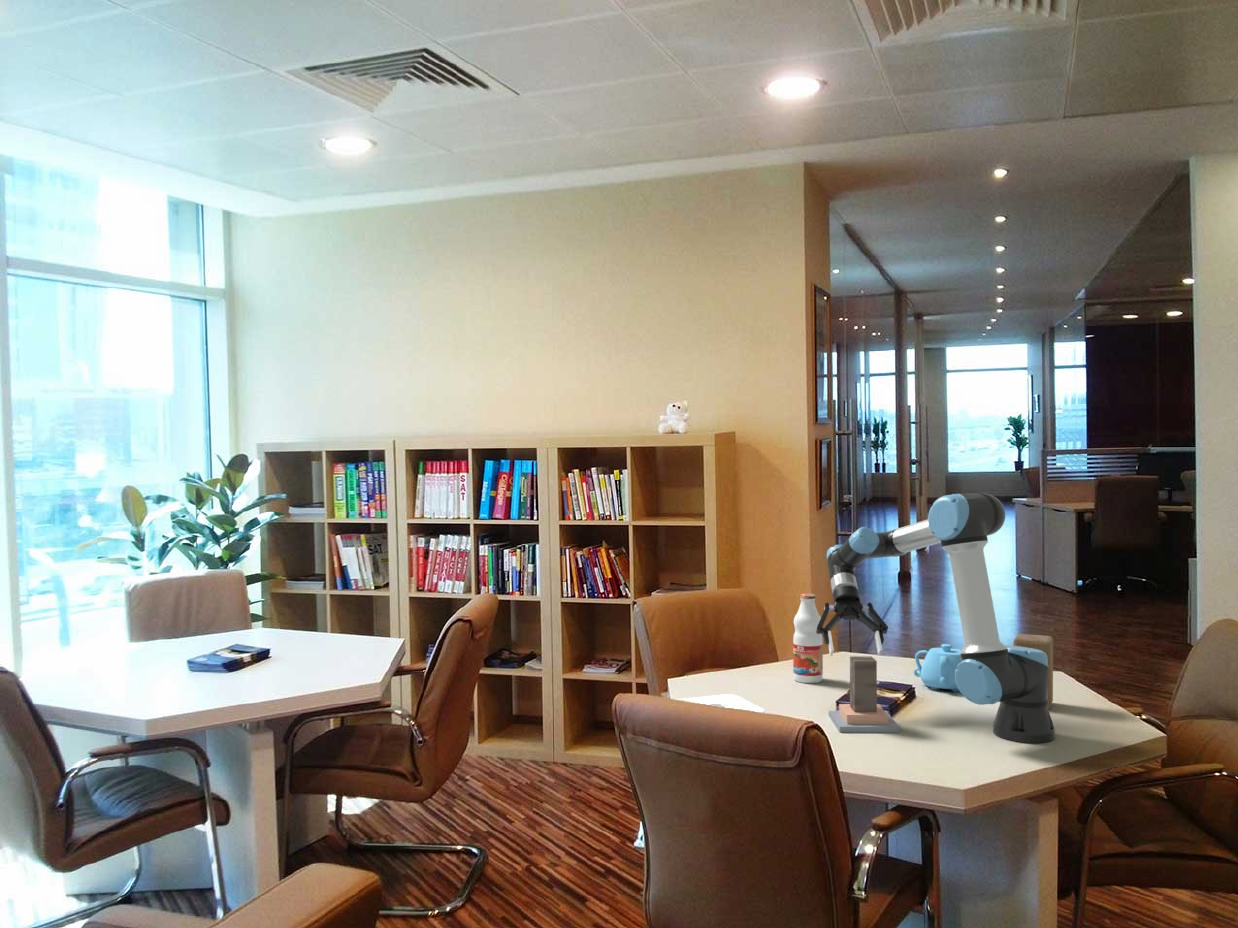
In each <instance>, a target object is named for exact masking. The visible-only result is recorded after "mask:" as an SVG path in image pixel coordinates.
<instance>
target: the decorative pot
mask: <svg viewBox="0 0 1238 928" xmlns="http://www.w3.org/2000/svg"><path fill="white" fill-rule="evenodd" d="M952 647H953V645H952V644H948V643H942V644H941V645H940V647H932V648H930V649H929V650H926V649H922V650H919V651H917V652H916V653H915V655H914V658H915V659H914V660H915V663H916V666H917V667H915V668H914V670H913V675H914V676H915V677H917V678H921V679H920V680H921V681H922V683H923V684H924V685H925V686H927V687H930V690H934V691H937V690H938V691H939V690H940V689H942V690H943V689H944V690H951V691H952V692H953V691H954V692H955V693H959V692H960V691H959V689H958V687H957V684H956V681H955V670H956V669H957V666H958V664H959V663H960V662H962V660H961V654H960V652H961V650H962V649H959V648H952ZM922 654H923V655H925V657H924V659H923V662H922V664H921V662H920V659H919V656H920V655H922ZM917 671H918V672H917ZM960 693H961V692H960Z"/></svg>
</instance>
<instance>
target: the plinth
mask: <svg viewBox="0 0 1238 928" xmlns="http://www.w3.org/2000/svg"><path fill="white" fill-rule="evenodd" d="M828 717H829V718H830V720H831V721H832V723H833V724H834V726H835V727H836V729H837V731H838V732H839V733H901V730H900V729H901V726H900V725H899V724H898V723H897V722H896V721H895V719H894V718H893V717H892V716H891V715H890V714H889V712H887V710H884V709H883V707H882V706H881V705H880V704H878V703H877V712H854V711H853V710H852V708H851V707H850V703H839V704H838V710H828Z"/></svg>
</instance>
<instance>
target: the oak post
mask: <svg viewBox="0 0 1238 928" xmlns="http://www.w3.org/2000/svg"><path fill="white" fill-rule="evenodd" d="M877 662H878V661H877V660H876V659H875V658H874V657H873V656H872V655H871V656H869V655H867V656H866V655H864V656H862V655H861V656H854V655H853V656H849V704H850V707H851V708H852V710H853V711H854V712H877V704H878V702H877V699H878V691H877V690H878V689H877V688H878V687H877V686H878V685H877V684H878V679H877V677H878V675H877V670H878V669H877V664H878V663H877Z"/></svg>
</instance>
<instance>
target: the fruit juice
mask: <svg viewBox="0 0 1238 928" xmlns="http://www.w3.org/2000/svg"><path fill="white" fill-rule="evenodd" d="M799 599H800V603H799V604H800V605H799V608H798V610H797V613H796V614H795V616H794V618H793V625H794V633H793V637H792V638H793V639H792V641H793V643H792V644H793V645H792V648H793V650H792V653H793V661H792V663H793V664H792V666H793V669H792V671H793V676H792V677H793V680H794V681H795V682H798V683H803V684H817V683H820V682H822V681H823V677H824V676H823V675H824V670H823V668H824V667H823V664H824V663H823V661H824V660H823V658H824V657H823V656H824V655H823V649H824V648H823V646H824V645H823V643H824V638H823V636H822V634H817V633H816V630H817V626H818V624H819V621H820V619H821V617H822V616H821V615H820V613H819V612H818V609H817V606H816V602H815V601H816V594H815V593H800V595H799Z"/></svg>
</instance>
